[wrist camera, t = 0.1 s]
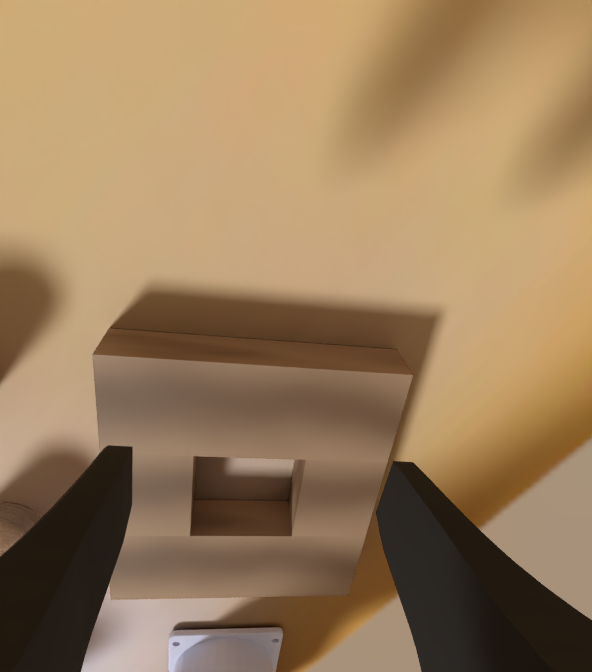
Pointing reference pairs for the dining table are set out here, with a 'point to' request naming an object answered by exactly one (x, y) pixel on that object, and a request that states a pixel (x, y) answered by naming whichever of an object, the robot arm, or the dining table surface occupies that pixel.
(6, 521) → the steel roller
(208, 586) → the socket board
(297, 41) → the dining table surface
